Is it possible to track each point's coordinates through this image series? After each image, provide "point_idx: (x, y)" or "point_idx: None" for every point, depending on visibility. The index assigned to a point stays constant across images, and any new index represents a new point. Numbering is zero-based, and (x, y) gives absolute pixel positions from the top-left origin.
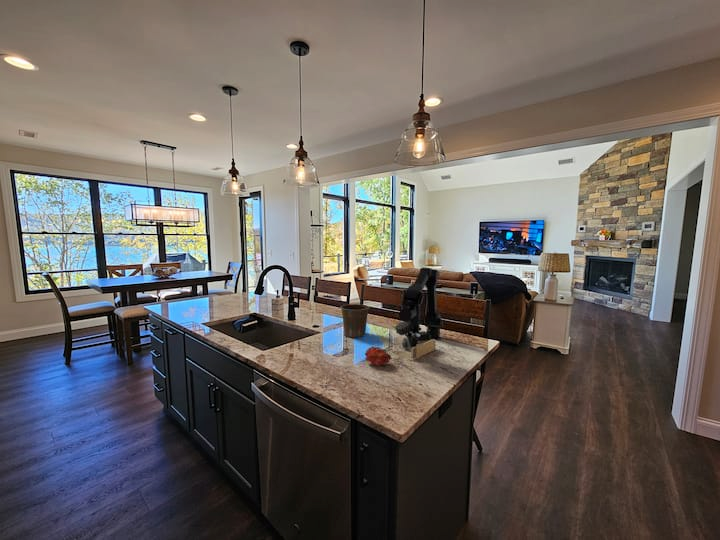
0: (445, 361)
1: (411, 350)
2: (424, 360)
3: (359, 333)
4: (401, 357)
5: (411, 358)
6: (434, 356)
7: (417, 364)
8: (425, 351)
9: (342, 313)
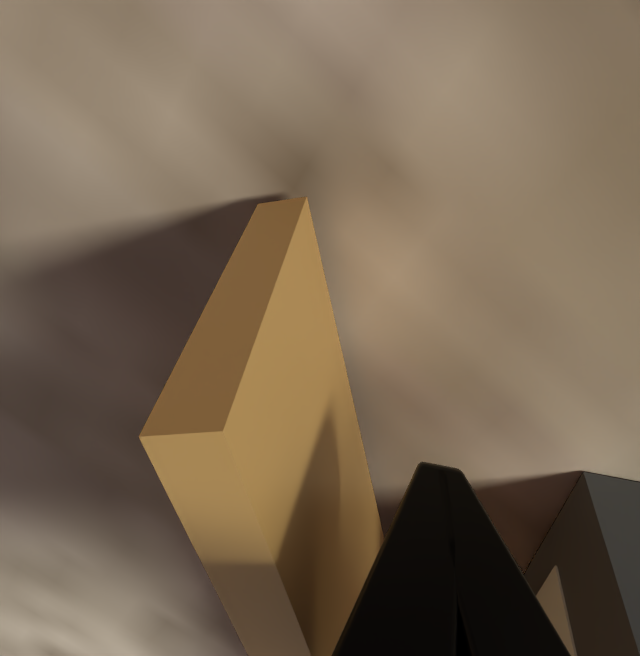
0: (8, 572)
1: (234, 353)
2: (154, 400)
3: None
4: (632, 85)
5: (286, 210)
6: None
7: (2, 127)
8: None
9: None
